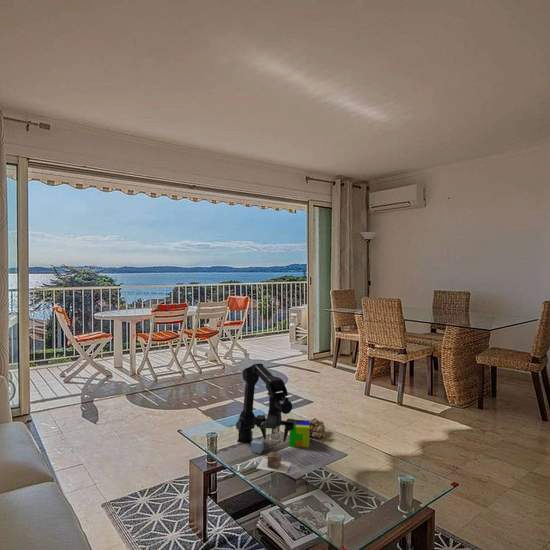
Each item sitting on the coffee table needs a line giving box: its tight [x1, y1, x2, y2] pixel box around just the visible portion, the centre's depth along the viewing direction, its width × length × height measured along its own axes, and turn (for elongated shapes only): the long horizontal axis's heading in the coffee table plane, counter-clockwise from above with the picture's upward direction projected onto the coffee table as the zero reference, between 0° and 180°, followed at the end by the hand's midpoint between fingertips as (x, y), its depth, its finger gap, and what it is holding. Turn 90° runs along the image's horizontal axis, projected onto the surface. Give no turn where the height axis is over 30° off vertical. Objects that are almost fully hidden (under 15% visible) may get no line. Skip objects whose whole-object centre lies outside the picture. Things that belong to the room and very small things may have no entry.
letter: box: [256, 458, 292, 474], centre depth 185 cm, size 14×10×1 cm
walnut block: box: [267, 451, 282, 469], centre depth 185 cm, size 5×5×5 cm
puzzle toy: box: [289, 419, 310, 448], centre depth 211 cm, size 10×10×10 cm
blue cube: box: [250, 438, 265, 454], centre depth 200 cm, size 5×5×5 cm
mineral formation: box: [309, 417, 326, 439], centre depth 222 cm, size 8×13×15 cm
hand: (274, 440), depth 185 cm, fingers open, 9 cm apart
